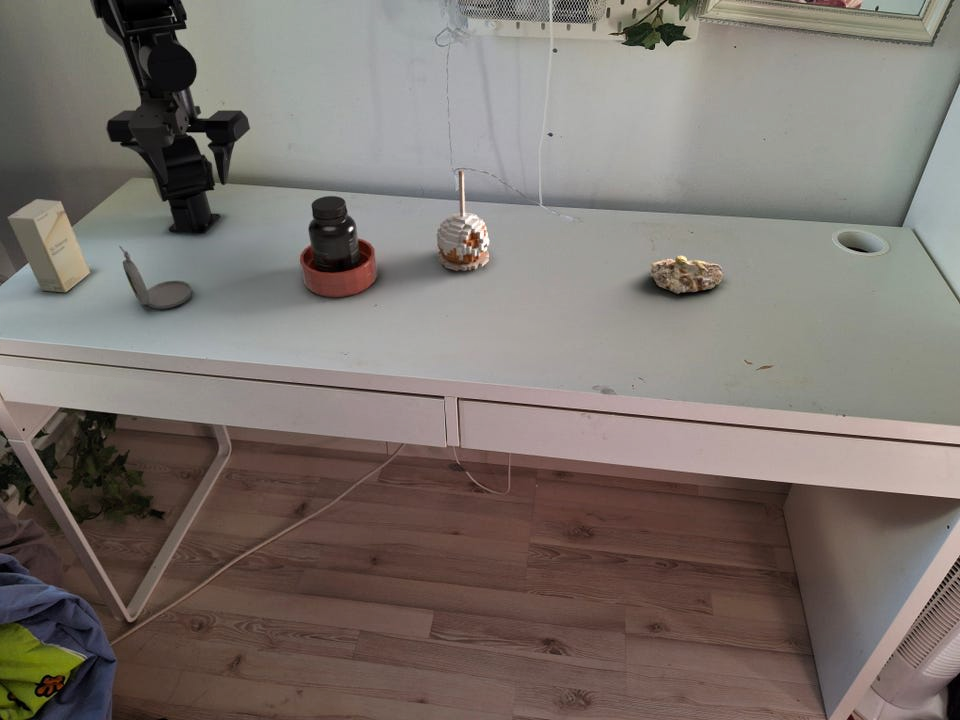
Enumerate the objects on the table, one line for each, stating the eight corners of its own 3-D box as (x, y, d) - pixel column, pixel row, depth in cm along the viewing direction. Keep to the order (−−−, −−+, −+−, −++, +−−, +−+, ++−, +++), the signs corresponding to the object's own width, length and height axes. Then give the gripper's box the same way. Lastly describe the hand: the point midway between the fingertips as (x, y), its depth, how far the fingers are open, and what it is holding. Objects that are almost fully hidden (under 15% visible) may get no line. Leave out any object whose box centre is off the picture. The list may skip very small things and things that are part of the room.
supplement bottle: (348, 259, 112) (338, 188, 105) (370, 277, 108) (361, 204, 100) (309, 273, 109) (295, 201, 101) (330, 293, 105) (317, 219, 97)
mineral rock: (655, 283, 102) (651, 242, 107) (649, 302, 106) (646, 263, 110) (731, 287, 102) (724, 246, 106) (722, 307, 105) (716, 266, 110)
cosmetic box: (66, 294, 106) (33, 220, 99) (39, 291, 107) (5, 217, 100) (92, 272, 111) (62, 200, 104) (66, 269, 112) (35, 197, 104)
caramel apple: (473, 278, 108) (471, 186, 99) (429, 265, 111) (423, 175, 102) (497, 255, 114) (497, 165, 104) (455, 244, 117) (451, 155, 107)
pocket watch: (202, 290, 107) (183, 230, 100) (165, 321, 100) (143, 259, 94) (157, 281, 109) (136, 222, 103) (118, 311, 103) (94, 250, 96)
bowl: (319, 257, 114) (315, 234, 111) (385, 263, 112) (383, 239, 110) (293, 295, 105) (288, 271, 103) (365, 301, 104) (362, 277, 101)
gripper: (65, 92, 91) (107, 205, 100) (203, 91, 89) (234, 208, 98) (110, 68, 100) (145, 175, 109) (237, 67, 98) (262, 176, 107)
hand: (194, 183), depth 106 cm, fingers open, 9 cm apart
